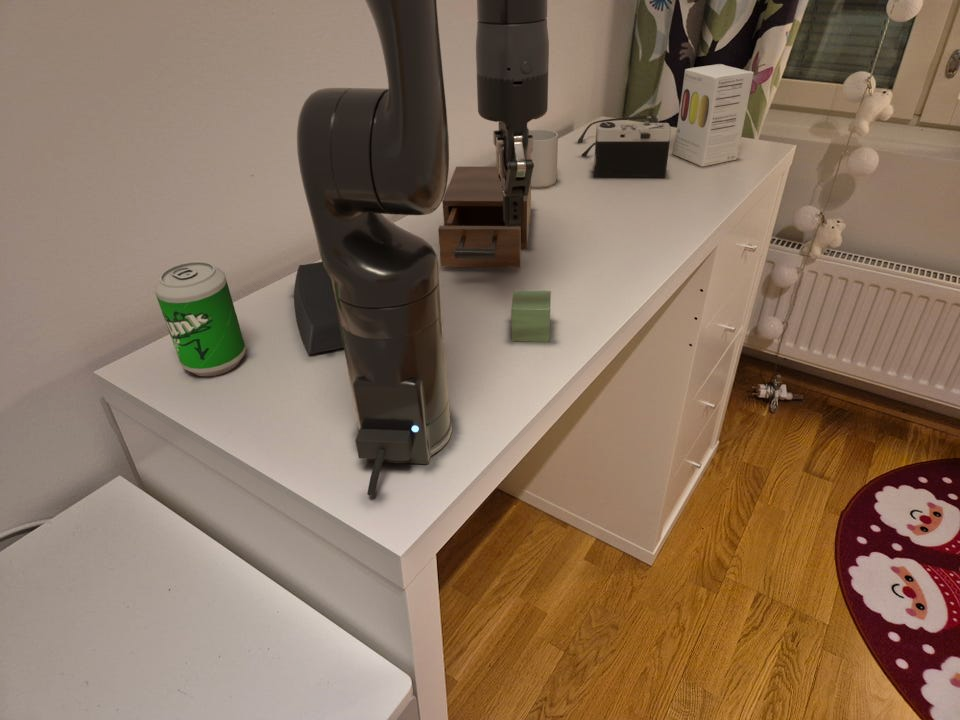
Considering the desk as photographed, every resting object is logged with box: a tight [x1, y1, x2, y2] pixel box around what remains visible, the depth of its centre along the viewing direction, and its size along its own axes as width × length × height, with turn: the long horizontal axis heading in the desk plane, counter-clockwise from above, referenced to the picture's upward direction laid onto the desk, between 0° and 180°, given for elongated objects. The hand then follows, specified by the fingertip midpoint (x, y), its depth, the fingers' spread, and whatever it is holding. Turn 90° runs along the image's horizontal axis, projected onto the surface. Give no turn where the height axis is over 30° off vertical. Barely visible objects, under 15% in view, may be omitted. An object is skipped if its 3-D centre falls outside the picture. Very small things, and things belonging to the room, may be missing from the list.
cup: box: [529, 129, 559, 189], centre depth 125 cm, size 7×10×9 cm
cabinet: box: [441, 166, 532, 250], centre depth 107 cm, size 16×13×8 cm
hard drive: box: [293, 261, 344, 355], centre depth 87 cm, size 13×19×4 cm
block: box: [510, 289, 552, 343], centre depth 81 cm, size 5×5×5 cm
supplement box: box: [672, 63, 755, 167], centre depth 130 cm, size 10×9×17 cm
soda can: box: [153, 260, 247, 377], centre depth 76 cm, size 8×8×12 cm
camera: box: [593, 120, 672, 179], centre depth 127 cm, size 14×9×10 cm, turn 76°
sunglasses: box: [577, 114, 659, 157], centre depth 140 cm, size 16×17×5 cm
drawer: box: [437, 206, 522, 268], centre depth 97 cm, size 20×12×6 cm, turn 174°
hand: (513, 223), depth 78 cm, fingers closed
